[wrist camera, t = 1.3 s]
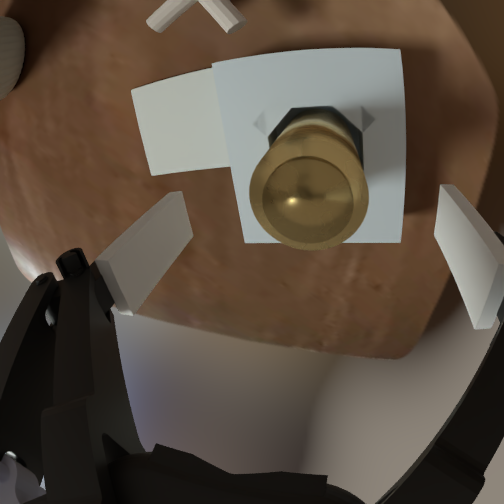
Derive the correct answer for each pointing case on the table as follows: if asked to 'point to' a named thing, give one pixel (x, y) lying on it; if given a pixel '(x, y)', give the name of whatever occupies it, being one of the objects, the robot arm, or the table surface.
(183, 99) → the mat
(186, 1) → the pipe connector
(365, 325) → the table surface
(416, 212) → the table surface
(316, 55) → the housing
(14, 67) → the canister
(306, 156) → the gold metal cylinder
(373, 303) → the table surface
